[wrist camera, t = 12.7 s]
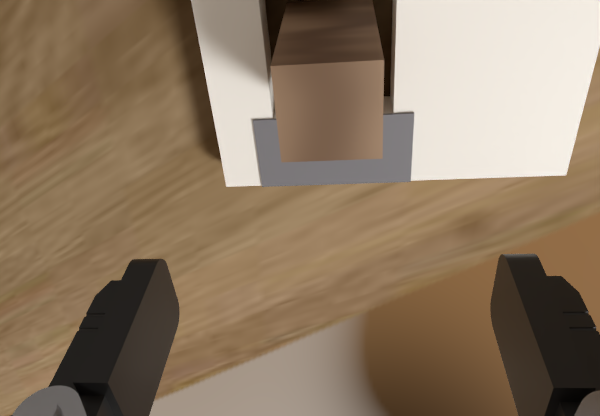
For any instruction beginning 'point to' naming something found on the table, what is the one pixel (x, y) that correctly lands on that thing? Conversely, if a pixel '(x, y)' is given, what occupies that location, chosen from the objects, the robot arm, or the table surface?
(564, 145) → the subfloor panel
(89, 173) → the table surface
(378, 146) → the brown wooden block
